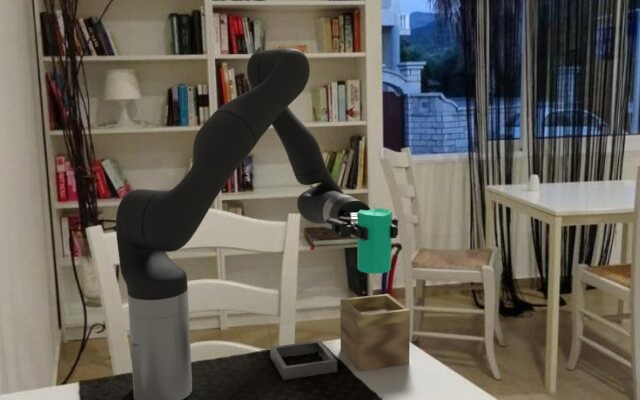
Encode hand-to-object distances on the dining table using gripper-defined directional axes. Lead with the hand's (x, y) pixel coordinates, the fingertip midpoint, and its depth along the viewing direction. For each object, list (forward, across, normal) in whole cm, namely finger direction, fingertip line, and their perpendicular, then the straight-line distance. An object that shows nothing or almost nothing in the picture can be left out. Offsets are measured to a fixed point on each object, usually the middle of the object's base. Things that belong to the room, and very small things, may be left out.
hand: (380, 233), depth 109 cm
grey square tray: (-3, -13, +24) cm, 27 cm away
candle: (-3, 0, +7) cm, 8 cm away
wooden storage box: (-2, 0, +24) cm, 24 cm away
